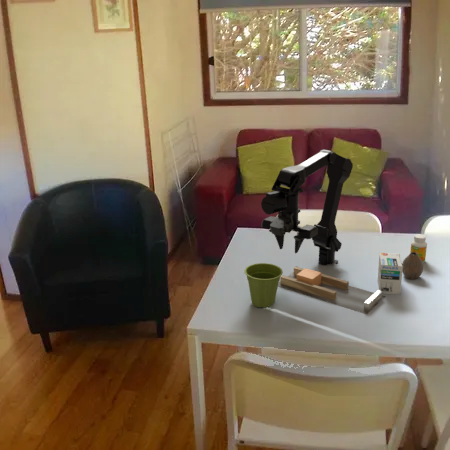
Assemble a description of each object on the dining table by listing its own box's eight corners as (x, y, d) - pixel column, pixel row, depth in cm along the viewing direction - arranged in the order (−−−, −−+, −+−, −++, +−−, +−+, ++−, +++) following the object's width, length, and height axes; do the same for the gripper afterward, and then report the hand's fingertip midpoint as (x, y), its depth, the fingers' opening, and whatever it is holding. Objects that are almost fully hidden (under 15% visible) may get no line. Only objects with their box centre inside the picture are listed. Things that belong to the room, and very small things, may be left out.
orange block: (305, 278, 184) (305, 268, 183) (320, 283, 180) (321, 272, 179) (296, 285, 180) (296, 274, 178) (312, 290, 176) (312, 279, 175)
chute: (296, 272, 191) (296, 263, 190) (385, 298, 171) (386, 289, 170) (274, 287, 180) (274, 278, 179) (366, 316, 161) (367, 307, 160)
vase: (423, 274, 187) (425, 251, 184) (420, 282, 181) (423, 258, 178) (402, 270, 190) (404, 248, 187) (399, 279, 184) (402, 255, 181)
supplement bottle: (408, 262, 196) (411, 237, 193) (410, 256, 201) (412, 232, 197) (424, 264, 194) (427, 239, 191) (425, 258, 199) (428, 234, 195)
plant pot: (271, 315, 163) (271, 282, 159) (238, 306, 169) (237, 274, 165) (288, 299, 172) (289, 267, 168) (256, 290, 178) (255, 260, 174)
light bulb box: (400, 297, 172) (403, 266, 168) (378, 295, 173) (381, 265, 170) (397, 282, 182) (400, 252, 178) (376, 280, 183) (379, 251, 179)
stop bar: (377, 296, 171) (377, 289, 170) (381, 298, 170) (382, 291, 169) (363, 309, 164) (364, 302, 163) (368, 311, 163) (368, 303, 162)
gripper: (252, 208, 175) (252, 252, 181) (301, 219, 164) (300, 266, 170) (271, 199, 183) (270, 242, 189) (319, 209, 172) (317, 254, 178)
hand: (288, 250), depth 181 cm, fingers open, 6 cm apart
